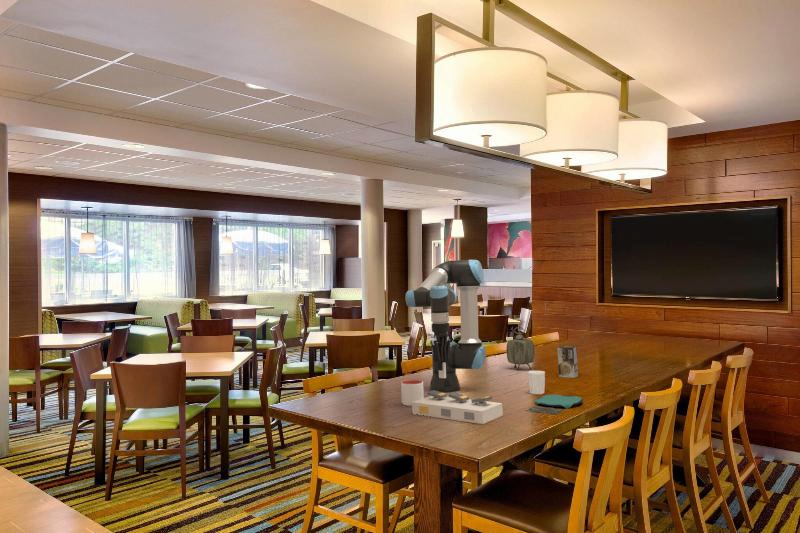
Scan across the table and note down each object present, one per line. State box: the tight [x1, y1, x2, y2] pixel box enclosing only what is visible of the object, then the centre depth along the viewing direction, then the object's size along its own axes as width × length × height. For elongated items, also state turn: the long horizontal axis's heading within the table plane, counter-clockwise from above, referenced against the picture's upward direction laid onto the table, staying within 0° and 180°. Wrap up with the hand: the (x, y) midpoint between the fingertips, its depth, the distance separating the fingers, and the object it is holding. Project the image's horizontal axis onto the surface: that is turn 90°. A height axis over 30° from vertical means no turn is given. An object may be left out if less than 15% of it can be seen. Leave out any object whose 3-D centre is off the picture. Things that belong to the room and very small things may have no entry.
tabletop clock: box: [506, 326, 536, 371], centre depth 356 cm, size 14×9×25 cm, turn 46°
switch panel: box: [411, 395, 504, 425], centre depth 252 cm, size 34×16×6 cm, turn 52°
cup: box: [400, 379, 425, 407], centre depth 275 cm, size 10×10×10 cm
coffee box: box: [556, 345, 579, 379], centre depth 329 cm, size 9×6×16 cm
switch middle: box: [448, 391, 470, 402], centre depth 254 cm, size 7×5×1 cm
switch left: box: [426, 390, 448, 399], centre depth 261 cm, size 7×5×1 cm
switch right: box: [471, 395, 493, 403], centre depth 247 cm, size 7×5×1 cm
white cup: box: [527, 370, 546, 395], centre depth 289 cm, size 8×8×10 cm
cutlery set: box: [524, 394, 584, 415], centre depth 262 cm, size 20×30×2 cm, turn 141°
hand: (442, 377), depth 259 cm, fingers closed
